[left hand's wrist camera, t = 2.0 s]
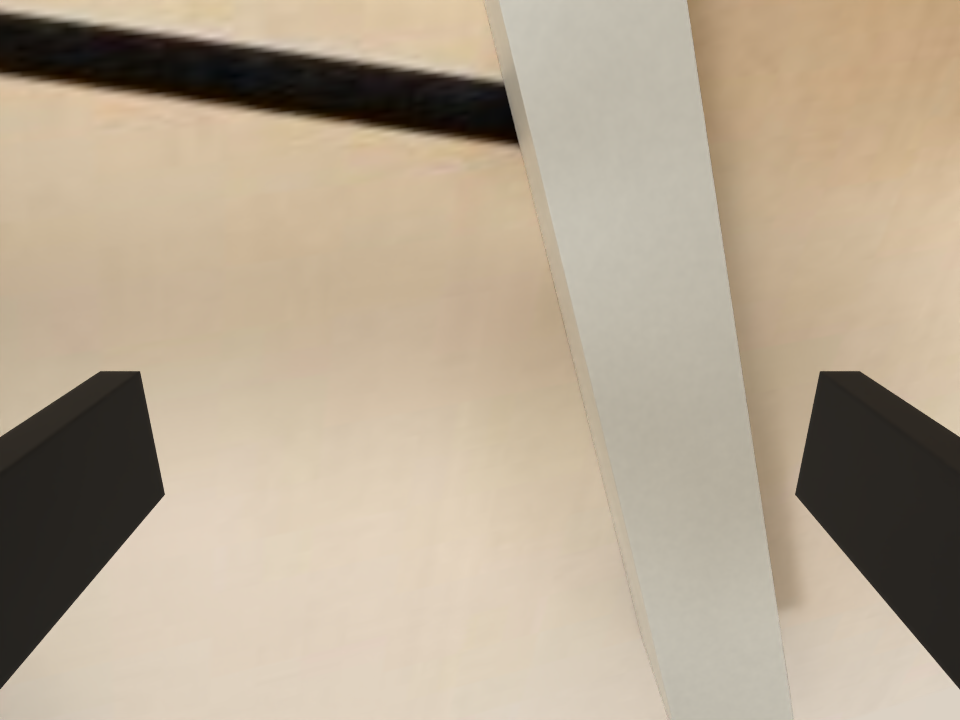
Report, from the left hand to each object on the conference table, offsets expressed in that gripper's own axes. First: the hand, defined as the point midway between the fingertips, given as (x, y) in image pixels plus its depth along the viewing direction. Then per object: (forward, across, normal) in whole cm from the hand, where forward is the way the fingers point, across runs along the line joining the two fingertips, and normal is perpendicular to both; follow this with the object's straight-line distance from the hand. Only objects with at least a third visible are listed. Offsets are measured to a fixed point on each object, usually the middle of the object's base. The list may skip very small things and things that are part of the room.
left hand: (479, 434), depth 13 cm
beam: (+18, -2, -13) cm, 23 cm away
